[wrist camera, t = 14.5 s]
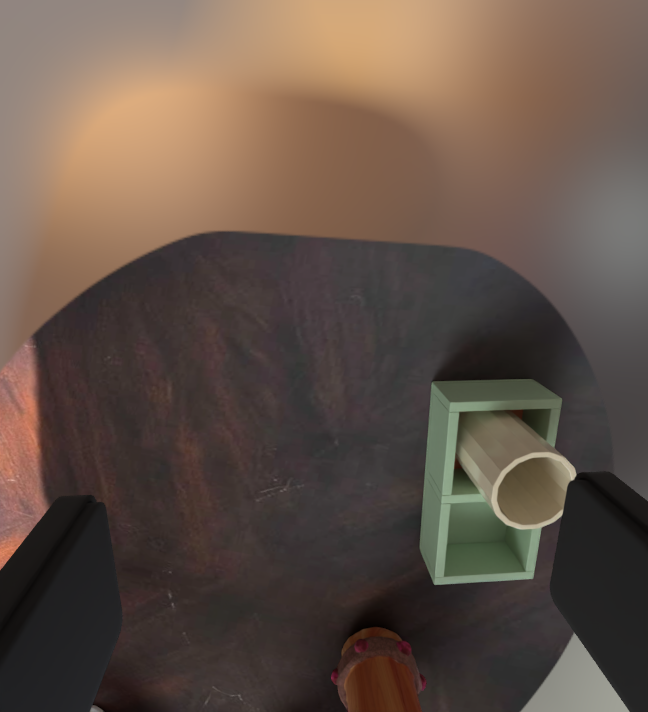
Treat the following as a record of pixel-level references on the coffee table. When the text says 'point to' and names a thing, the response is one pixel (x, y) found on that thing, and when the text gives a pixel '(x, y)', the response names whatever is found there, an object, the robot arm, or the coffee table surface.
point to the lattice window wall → (95, 709)
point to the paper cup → (513, 468)
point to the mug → (378, 673)
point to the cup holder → (462, 498)
